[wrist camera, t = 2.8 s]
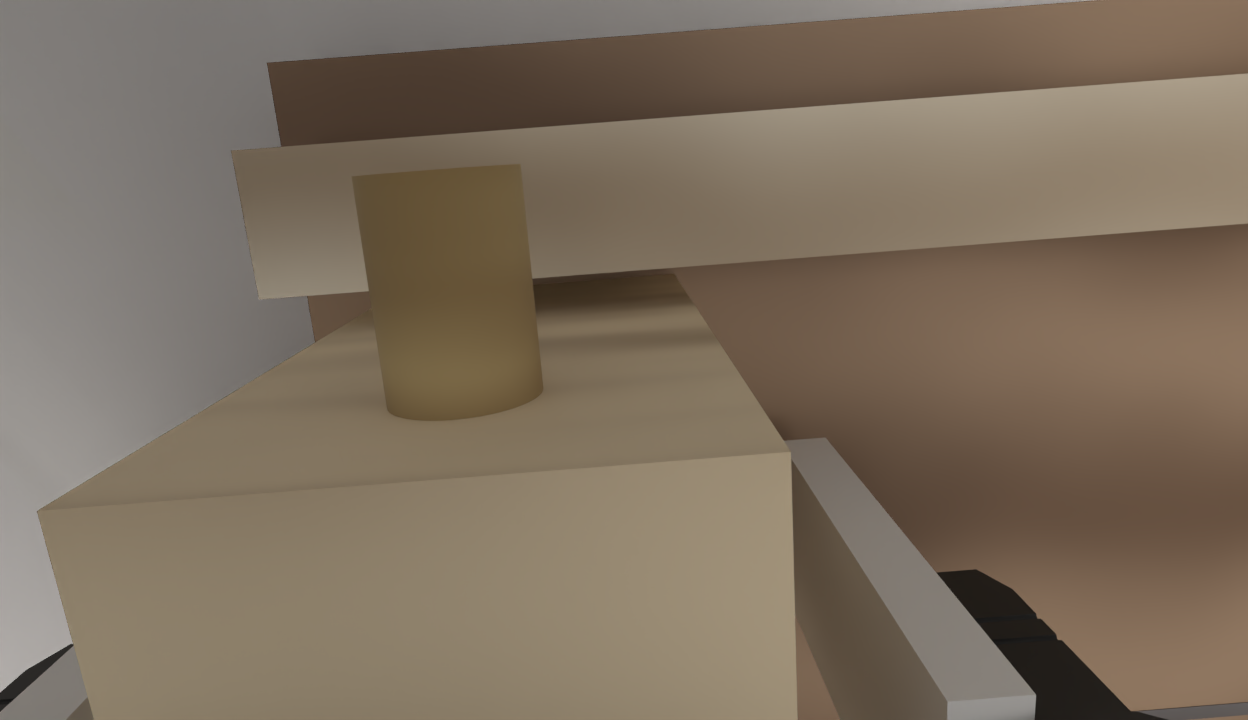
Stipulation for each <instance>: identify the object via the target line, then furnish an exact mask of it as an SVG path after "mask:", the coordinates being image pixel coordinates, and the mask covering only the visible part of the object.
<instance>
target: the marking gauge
mask: <svg viewBox="0 0 1248 720" xmlns="http://www.w3.org/2000/svg"><path fill="white" fill-rule="evenodd" d="M352 183H353V190H354V197H355V203H356V210H357V216H358V223H359V229H360V236H361V242H362V249H363V255H364V262H365V268H366V275H367V282H368V288H369V295H370V301H371V309H370V310H368V311H366V312H365V313H363V314H361V315H360V316H358V317H357V318H355V319H353V320H352V321H350V322H348V323H347V324H345V325H343V326H342V327H340V328H338V329H337V330H335V331H333V332H332V333H330V334H328V335H327V336H325V337H324V338H322V339H320V340H319V341H317V342H315V343H314V344H312V345H310V346H309V347H307V348H305V349H304V350H302V351H300V352H299V353H297V354H295V355H294V356H292V357H290V358H289V359H287V360H286V361H284V362H282V363H281V364H279V365H277V366H276V367H274V368H272V369H271V370H269V371H267V372H266V373H264V374H262V375H261V376H259V377H257V378H256V379H254V380H253V381H251V382H249V383H248V384H246V385H244V386H243V387H241V388H239V389H238V390H236V391H234V392H233V393H231V394H229V395H228V396H226V397H224V398H223V399H221V400H219V401H218V402H216V403H215V404H213V405H211V406H210V407H208V408H206V409H205V410H203V411H201V412H200V413H198V414H196V415H195V416H193V417H191V418H190V419H188V420H186V421H185V422H183V423H182V424H180V425H178V426H177V427H175V428H173V429H172V430H170V431H168V432H167V433H165V434H163V435H162V436H160V437H158V438H157V439H155V440H153V441H152V442H150V443H148V444H147V445H145V446H144V447H142V448H140V449H139V450H137V451H135V452H134V453H132V454H130V455H129V456H127V457H125V458H124V459H122V460H120V461H119V462H117V463H115V464H114V465H112V466H111V467H109V468H107V469H106V470H104V471H102V472H101V473H99V474H97V475H96V476H94V477H92V478H91V479H89V480H87V481H86V482H84V483H82V484H81V485H79V486H78V487H76V488H74V489H73V490H71V491H69V492H68V493H66V494H64V495H63V496H61V497H59V498H58V499H56V500H54V501H53V502H51V503H49V504H48V505H46V506H44V507H43V508H41V509H40V510H38V511H37V513H38V517H39V521H40V524H41V528H42V532H43V535H44V539H45V543H46V546H47V550H48V553H49V557H50V561H51V564H52V568H53V572H54V575H55V579H56V583H57V586H58V590H59V594H60V597H61V601H62V605H63V608H64V612H65V616H66V619H67V623H68V627H69V630H70V634H71V638H72V641H73V645H74V649H75V652H76V656H77V660H78V663H79V667H80V671H81V674H82V678H83V682H84V685H85V689H86V692H87V696H88V700H89V703H90V707H91V711H92V714H93V718H94V720H798V716H797V675H796V635H795V594H794V553H793V512H792V472H791V451H790V450H789V448H788V447H787V445H786V443H785V442H784V440H783V439H782V437H781V436H780V434H779V433H778V431H777V430H776V428H775V427H774V425H773V424H772V422H771V421H770V419H769V418H768V416H767V415H766V413H765V411H764V410H763V408H762V407H761V405H760V404H759V402H758V401H757V399H756V398H755V396H754V395H753V393H752V392H751V390H750V389H749V387H748V386H747V384H746V383H745V381H744V379H743V378H742V376H741V375H740V373H739V372H738V370H737V369H736V367H735V366H734V364H733V363H732V361H731V360H730V358H729V357H728V355H727V354H726V352H725V351H724V349H723V348H722V346H721V344H720V343H719V341H718V340H717V338H716V337H715V335H714V334H713V332H712V331H711V329H710V328H709V326H708V325H707V323H706V322H705V320H704V319H703V317H702V316H701V314H700V312H699V311H698V309H697V308H696V306H695V305H694V303H693V302H692V300H691V299H690V297H689V296H688V294H687V293H686V291H685V290H684V288H683V287H682V285H681V284H680V282H679V281H678V279H677V277H676V276H675V274H665V275H652V276H639V277H627V278H614V279H601V280H588V281H575V282H562V283H549V284H536V285H533V281H532V272H531V262H530V252H529V242H528V233H527V223H526V213H525V203H524V193H523V184H522V174H521V164H510V165H493V166H478V167H463V168H449V169H436V170H422V171H409V172H396V173H384V174H372V175H361V176H352Z"/></svg>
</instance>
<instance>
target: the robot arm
mask: <svg viewBox="0 0 1248 720" xmlns="http://www.w3.org/2000/svg"><path fill="white" fill-rule="evenodd" d="M784 442H785V443H786V445H787V447H788V448H789V450H790V451H791V472H792V512H793V553H794V594H795V615H796V617H797V620H798V622H799V624H800V627H801V629H802V631H803V634H804V636H805V638H806V641H807V643H808V646H809V648H810V650H811V653H812V655H813V657H814V660H815V662H816V664H817V667H818V669H819V671H820V674H821V676H822V678H823V681H824V683H825V685H826V688H827V690H828V692H829V695H830V697H831V699H832V702H833V704H834V706H835V709H836V711H837V713H838V716H839V718H840V720H1167V719H1163V718H1160V717H1156V716H1152V715H1148V714H1145V713H1141V712H1133V711H1130V710H1129V709H1128V708H1127V707H1126V706H1125V705H1124V704H1123V703H1122V702H1121V701H1120V700H1119V699H1118V697H1117V696H1116V695H1115V694H1114V693H1113V692H1112V691H1111V690H1110V689H1109V688H1108V687H1107V686H1106V685H1105V684H1104V683H1103V682H1102V681H1101V680H1100V679H1099V678H1098V677H1097V676H1096V675H1095V674H1094V673H1093V672H1092V671H1091V670H1090V669H1089V668H1088V667H1087V665H1086V664H1085V663H1084V662H1083V661H1082V660H1081V659H1080V658H1079V657H1078V656H1077V655H1076V654H1075V653H1074V652H1073V651H1072V650H1071V649H1070V648H1069V647H1068V646H1067V645H1066V644H1065V643H1064V642H1063V641H1062V640H1058V639H1057V635H1056V633H1055V632H1054V631H1053V630H1052V629H1051V628H1050V627H1049V626H1048V625H1047V624H1046V623H1045V622H1044V621H1043V620H1042V619H1037V616H1036V613H1035V612H1034V611H1033V610H1032V609H1031V608H1030V607H1029V606H1028V605H1027V604H1026V602H1025V601H1024V600H1023V599H1022V598H1021V597H1020V596H1019V595H1018V594H1017V593H1016V592H1015V591H1014V590H1013V589H1012V588H1010V587H1008V586H1006V585H1004V584H1002V583H1001V582H999V581H997V580H995V579H993V578H991V577H990V576H988V575H986V574H984V573H982V572H980V571H978V570H977V569H973V570H961V571H948V572H935V571H934V569H933V568H932V567H931V566H930V565H929V563H928V562H927V561H926V560H925V558H924V557H923V556H922V555H921V554H920V552H919V551H918V550H917V549H916V547H915V546H914V545H913V544H912V543H911V541H910V540H909V539H908V538H907V536H906V535H905V534H904V533H903V532H902V530H901V529H900V528H899V527H898V525H897V524H896V523H895V522H894V521H893V519H892V518H891V517H890V516H889V514H888V513H887V512H886V511H885V510H884V508H883V507H882V506H881V505H880V503H879V502H878V501H877V500H876V499H875V497H874V496H873V495H872V494H871V492H870V491H869V490H868V489H867V488H866V486H865V485H864V484H863V483H862V481H861V480H860V479H859V478H858V477H857V475H856V474H855V473H854V472H853V471H852V469H851V468H850V467H849V466H848V464H847V463H846V462H845V461H844V460H843V458H842V457H841V456H840V455H839V453H838V452H837V451H836V450H835V449H834V447H833V446H832V445H831V444H830V442H829V441H828V440H827V439H826V438H812V439H800V440H787V441H784ZM0 720H94V718H93V714H92V711H91V707H90V703H89V700H88V696H87V692H86V689H85V685H84V682H83V678H82V674H81V671H80V667H79V663H78V660H77V656H76V652H75V649H74V645H73V644H70V645H68V646H67V647H65V648H63V649H62V650H60V651H58V652H57V653H55V654H53V655H51V656H50V657H48V658H46V659H45V660H43V661H41V662H39V663H38V664H36V665H34V666H33V667H31V668H29V669H28V670H26V671H25V672H23V673H22V674H21V675H20V676H19V677H18V678H17V679H15V680H14V681H13V682H12V683H11V684H10V685H9V686H7V687H6V688H5V689H4V690H3V691H2V692H0Z"/></svg>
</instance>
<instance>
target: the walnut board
mask: <svg viewBox="0 0 1248 720" xmlns="http://www.w3.org/2000/svg"><path fill="white" fill-rule="evenodd" d="M267 66H268V72H269V77H270V83H271V89H272V95H273V101H274V106H275V112H276V118H277V124H278V130H279V136H280V141H281V147H273V148H260V149H247V150H233V151H231V153H232V158H233V164H234V169H235V174H236V180H237V185H238V190H239V196H240V201H241V206H242V212H243V217H244V223H245V228H246V233H247V239H248V244H249V249H250V255H251V260H252V265H253V271H254V276H255V281H256V287H257V292H258V297H259V300H261V299H274V298H287V297H300V296H307V298H308V304H309V310H310V316H311V321H312V327H313V333H314V339H315V342H317V341H319V340H320V339H322V338H324V337H325V336H327V335H328V334H330V333H332V332H333V331H335V330H337V329H338V328H340V327H342V326H343V325H345V324H347V323H348V322H350V321H352V320H353V319H355V318H357V317H358V316H360V315H361V314H363V313H365V312H366V311H368V310H370V309H371V301H370V295H369V288H368V282H367V275H366V268H365V262H364V255H363V249H362V242H361V236H360V229H359V223H358V216H357V210H356V203H355V197H354V190H353V183H352V176H361V175H372V174H384V173H396V172H409V171H422V170H436V169H449V168H463V167H478V166H493V165H510V164H521V174H522V184H523V193H524V203H525V213H526V223H527V233H528V242H529V252H530V262H531V272H532V281H533V285H536V284H549V283H562V282H575V281H588V280H601V279H614V278H627V277H639V276H652V275H665V274H675V276H676V277H677V279H678V281H679V282H680V284H681V285H682V287H683V288H684V290H685V291H686V293H687V294H688V296H689V297H690V299H691V300H692V302H693V303H694V305H695V306H696V308H697V309H698V311H699V312H700V314H701V316H702V317H703V319H704V320H705V322H706V323H707V325H708V326H709V328H710V329H711V331H712V332H713V334H714V335H715V337H716V338H717V340H718V341H719V343H720V344H721V346H722V348H723V349H724V351H725V352H726V354H727V355H728V357H729V358H730V360H731V361H732V363H733V364H734V366H735V367H736V369H737V370H738V372H739V373H740V375H741V376H742V378H743V379H744V381H745V383H746V384H747V386H748V387H749V389H750V390H751V392H752V393H753V395H754V396H755V398H756V399H757V401H758V402H759V404H760V405H761V407H762V408H763V410H764V411H765V413H766V415H767V416H768V418H769V419H770V421H771V422H772V424H773V425H774V427H775V428H776V430H777V431H778V433H779V434H780V436H781V437H782V439H783V440H784V441H787V440H800V439H812V438H826V439H827V440H828V441H829V442H830V444H831V445H832V446H833V447H834V449H835V450H836V451H837V452H838V453H839V455H840V456H841V457H842V458H843V460H844V461H845V462H846V463H847V464H848V466H849V467H850V468H851V469H852V471H853V472H854V473H855V474H856V475H857V477H858V478H859V479H860V480H861V481H862V483H863V484H864V485H865V486H866V488H867V489H868V490H869V491H870V492H871V494H872V495H873V496H874V497H875V499H876V500H877V501H878V502H879V503H880V505H881V506H882V507H883V508H884V510H885V511H886V512H887V513H888V514H889V516H890V517H891V518H892V519H893V521H894V522H895V523H896V524H897V525H898V527H899V528H900V529H901V530H902V532H903V533H904V534H905V535H906V536H907V538H908V539H909V540H910V541H911V543H912V544H913V545H914V546H915V547H916V549H917V550H918V551H919V552H920V554H921V555H922V556H923V557H924V558H925V560H926V561H927V562H928V563H929V565H930V566H931V567H932V568H933V569H934V571H935V572H948V571H961V570H973V569H977V570H978V571H980V572H982V573H984V574H986V575H988V576H990V577H991V578H993V579H995V580H997V581H999V582H1001V583H1002V584H1004V585H1006V586H1008V587H1010V588H1012V589H1013V590H1014V591H1015V592H1016V593H1017V594H1018V595H1019V596H1020V597H1021V598H1022V599H1023V600H1024V601H1025V602H1026V604H1027V605H1028V606H1029V607H1030V608H1031V609H1032V610H1033V611H1034V612H1035V613H1036V616H1037V619H1042V620H1043V621H1044V622H1045V623H1046V624H1047V625H1048V626H1049V627H1050V628H1051V629H1052V630H1053V631H1054V632H1055V633H1056V635H1057V639H1058V640H1062V641H1063V642H1064V643H1065V644H1066V645H1067V646H1068V647H1069V648H1070V649H1071V650H1072V651H1073V652H1074V653H1075V654H1076V655H1077V656H1078V657H1079V658H1080V659H1081V660H1082V661H1083V662H1084V663H1085V664H1086V665H1087V667H1088V668H1089V669H1090V670H1091V671H1092V672H1093V673H1094V674H1095V675H1096V676H1097V677H1098V678H1099V679H1100V680H1101V681H1102V682H1103V683H1104V684H1105V685H1106V686H1107V687H1108V688H1109V689H1110V690H1111V691H1112V692H1113V693H1114V694H1115V695H1116V696H1117V697H1118V699H1119V700H1120V701H1121V702H1122V703H1123V704H1124V705H1125V706H1126V707H1127V708H1128V709H1129V710H1130V711H1133V712H1141V713H1145V714H1148V715H1152V716H1156V717H1160V718H1163V719H1167V720H1248V0H1096V1H1083V2H1069V3H1056V4H1043V5H1029V6H1016V7H1003V8H990V9H976V10H963V11H950V12H936V13H923V14H910V15H897V16H883V17H870V18H857V19H843V20H830V21H817V22H804V23H790V24H777V25H764V26H750V27H737V28H724V29H710V30H697V31H684V32H671V33H657V34H644V35H631V36H617V37H604V38H591V39H578V40H564V41H551V42H538V43H524V44H511V45H498V46H485V47H471V48H458V49H445V50H431V51H418V52H405V53H392V54H378V55H365V56H352V57H338V58H325V59H312V60H298V61H285V62H272V63H267ZM795 635H796V675H797V716H798V720H840V718H839V716H838V713H837V711H836V709H835V706H834V704H833V702H832V699H831V697H830V695H829V692H828V690H827V688H826V685H825V683H824V681H823V678H822V676H821V674H820V671H819V669H818V667H817V664H816V662H815V660H814V657H813V655H812V653H811V650H810V648H809V646H808V643H807V641H806V638H805V636H804V634H803V631H802V629H801V627H800V624H799V622H798V620H797V617H796V615H795Z"/></svg>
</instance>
